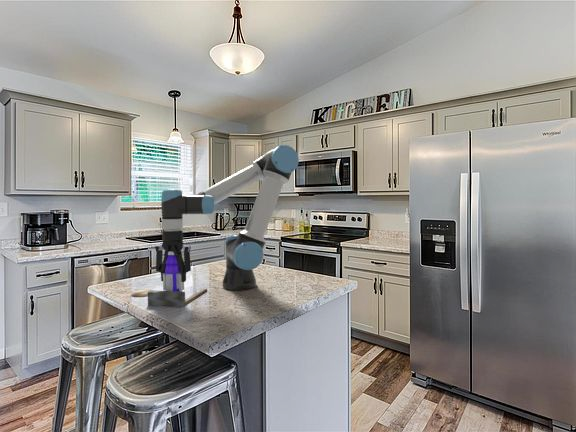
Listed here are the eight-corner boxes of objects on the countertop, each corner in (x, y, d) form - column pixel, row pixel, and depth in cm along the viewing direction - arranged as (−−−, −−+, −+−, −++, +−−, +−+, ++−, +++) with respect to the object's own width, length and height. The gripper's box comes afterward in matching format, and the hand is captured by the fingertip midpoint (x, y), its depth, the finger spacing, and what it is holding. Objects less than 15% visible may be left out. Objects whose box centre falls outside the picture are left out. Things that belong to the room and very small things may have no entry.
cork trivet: (159, 291, 142) (159, 290, 142) (146, 297, 133) (146, 295, 133) (140, 290, 144) (140, 289, 144) (126, 296, 135) (126, 294, 135)
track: (207, 290, 142) (206, 279, 142) (182, 307, 120) (181, 293, 120) (177, 289, 145) (177, 278, 144) (147, 305, 123) (147, 292, 122)
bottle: (169, 293, 131) (167, 249, 131) (183, 293, 132) (182, 249, 131) (163, 298, 124) (162, 252, 124) (179, 298, 125) (178, 252, 124)
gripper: (199, 229, 129) (200, 288, 130) (155, 229, 132) (156, 286, 133) (191, 231, 122) (192, 293, 123) (144, 230, 125) (145, 291, 126)
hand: (173, 289), depth 128 cm, fingers closed on bottle, 6 cm apart
